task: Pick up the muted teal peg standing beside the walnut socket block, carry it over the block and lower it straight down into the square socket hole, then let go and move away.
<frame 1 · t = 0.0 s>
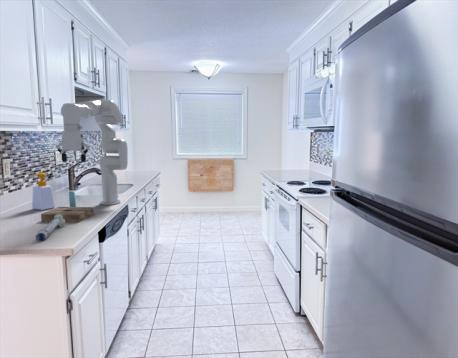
hand: (74, 161, 164), 31 cm above the countertop, tool pointing down, fingers open, 9 cm apart
white handheld massager: (51, 233, 149), on the countertop
peg: (73, 211, 189), on the countertop
soap bottle: (40, 209, 194), on the countertop
socket block: (68, 217, 175), on the countertop
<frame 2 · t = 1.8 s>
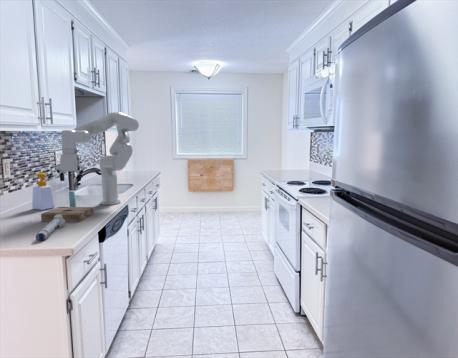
hand: (70, 181, 187), 18 cm above the countertop, tool pointing down, fingers open, 9 cm apart
nothing on the countertop moved.
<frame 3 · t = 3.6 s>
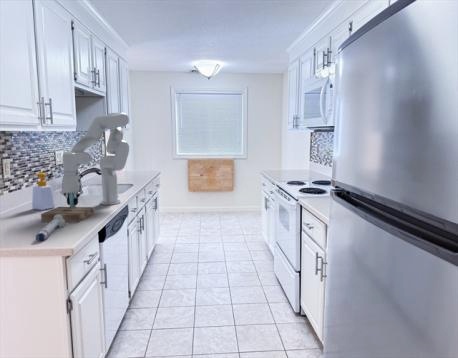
hand: (72, 204, 189), 4 cm above the countertop, tool pointing down, fingers closed on peg, 3 cm apart
peg: (73, 211, 189), on the countertop, touching gripper
everything else where it was.
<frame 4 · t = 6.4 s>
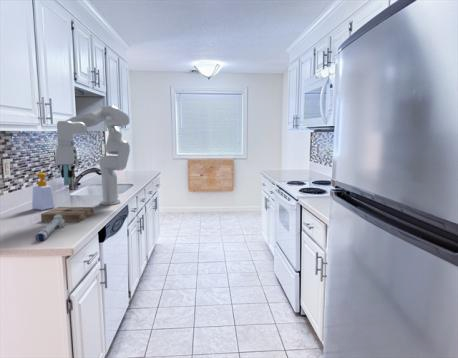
hand: (67, 177, 176), 22 cm above the countertop, tool pointing down, fingers closed on peg, 3 cm apart
peg: (67, 184, 176), point 18 cm above the countertop, touching gripper
everything else where it was.
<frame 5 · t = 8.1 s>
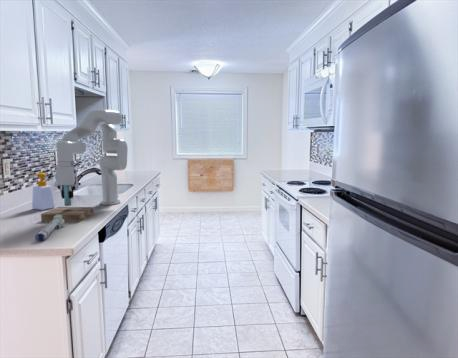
hand: (67, 197, 173), 11 cm above the countertop, tool pointing down, fingers closed on peg, 3 cm apart
peg: (67, 205, 174), point 7 cm above the countertop, touching gripper
everything else where it was.
when the fingers open (6 cm above the countertop, at t = 9.4 s): peg drops 1 cm, resting on socket block.
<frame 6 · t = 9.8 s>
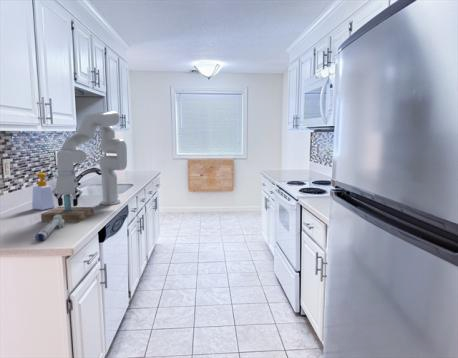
hand: (68, 205, 174), 7 cm above the countertop, tool pointing down, fingers open, 7 cm apart
peg: (68, 216, 175), resting on socket block
everything else where it was.
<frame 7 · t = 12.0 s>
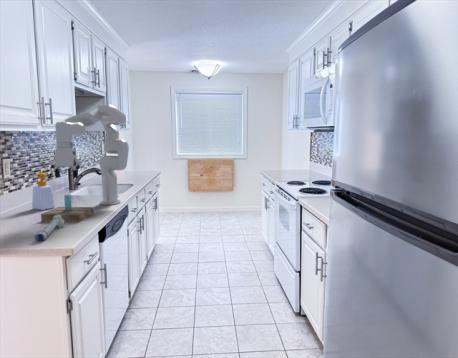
hand: (66, 177, 172), 22 cm above the countertop, tool pointing down, fingers open, 9 cm apart
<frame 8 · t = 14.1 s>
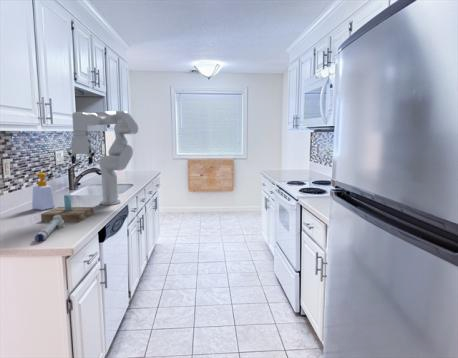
hand: (82, 163, 185), 28 cm above the countertop, tool pointing down, fingers open, 9 cm apart
at the end: peg 0.0 cm off-centre on the socket block, point 0.4 cm above the socket block's base; peg tilted 0°; the gripper is holding nothing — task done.
